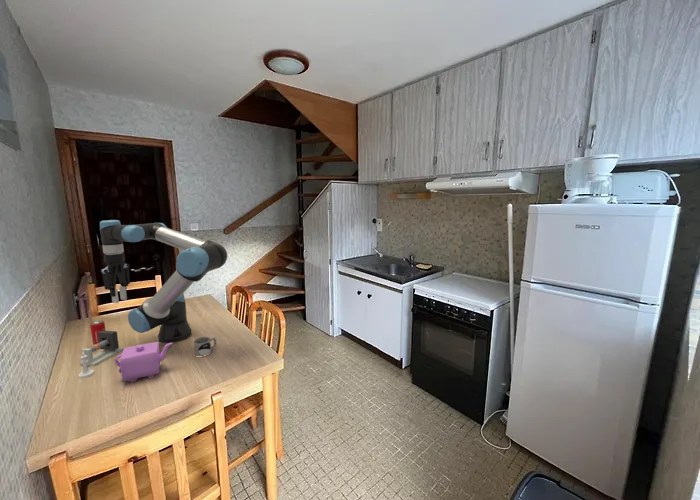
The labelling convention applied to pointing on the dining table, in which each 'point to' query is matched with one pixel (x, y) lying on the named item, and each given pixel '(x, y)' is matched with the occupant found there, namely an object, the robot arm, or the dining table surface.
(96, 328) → the beverage can
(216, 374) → the dining table surface
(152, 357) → the teapot
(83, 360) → the chess piece
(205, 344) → the mug
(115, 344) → the collar
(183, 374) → the dining table surface
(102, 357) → the pipe rig
